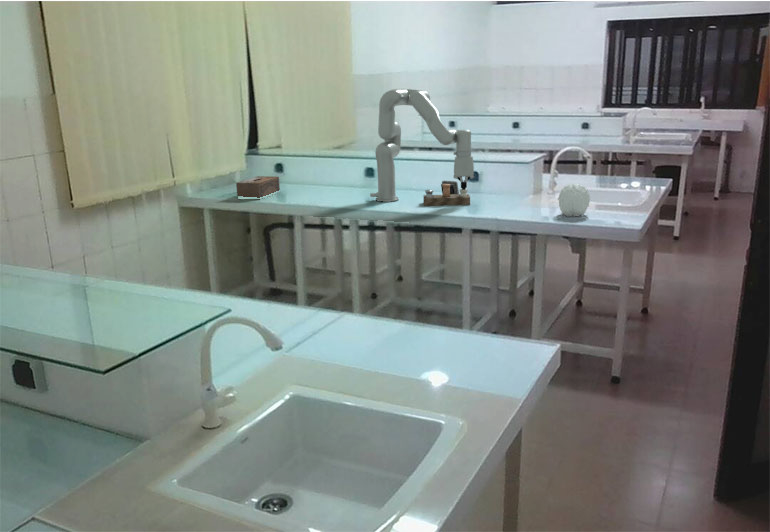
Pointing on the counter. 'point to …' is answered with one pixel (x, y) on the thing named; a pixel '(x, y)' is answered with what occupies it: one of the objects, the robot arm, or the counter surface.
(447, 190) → the plug terracotta
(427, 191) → the plug grey
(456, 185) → the electrical switch
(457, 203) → the socket board
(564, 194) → the brain
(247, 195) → the tissue box cover
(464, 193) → the plug ivory
